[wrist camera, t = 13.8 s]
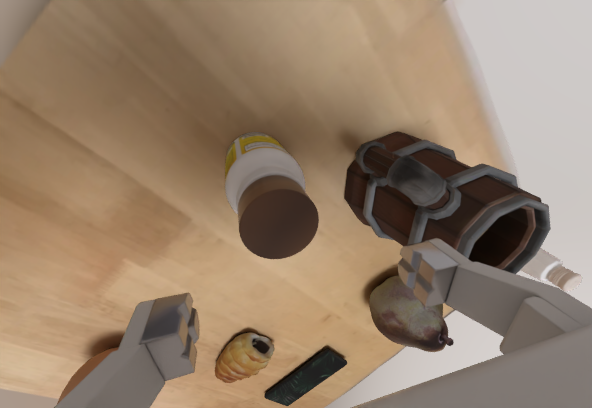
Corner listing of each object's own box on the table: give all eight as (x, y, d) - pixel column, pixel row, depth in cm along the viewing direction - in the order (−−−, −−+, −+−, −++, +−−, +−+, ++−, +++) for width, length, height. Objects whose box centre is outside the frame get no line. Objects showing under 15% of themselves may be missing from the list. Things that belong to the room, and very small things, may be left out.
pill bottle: (252, 199, 27) (265, 261, 17) (212, 157, 24) (201, 204, 14) (296, 164, 27) (334, 208, 17) (260, 117, 24) (282, 139, 14)
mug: (444, 165, 32) (595, 220, 19) (383, 234, 34) (478, 325, 21) (367, 85, 25) (521, 84, 12) (298, 179, 27) (362, 263, 14)
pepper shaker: (500, 219, 39) (588, 261, 30) (511, 233, 42) (596, 277, 32) (475, 243, 40) (551, 291, 31) (487, 255, 43) (562, 304, 33)
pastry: (237, 374, 40) (238, 400, 36) (203, 362, 37) (200, 390, 33) (276, 339, 38) (281, 363, 35) (244, 324, 35) (245, 349, 32)
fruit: (412, 255, 38) (482, 319, 27) (418, 292, 42) (480, 359, 32) (354, 283, 37) (403, 360, 27) (366, 318, 42) (412, 395, 31)
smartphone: (263, 398, 43) (328, 351, 41) (263, 392, 44) (326, 345, 42) (287, 407, 46) (348, 364, 45) (286, 401, 47) (346, 358, 45)
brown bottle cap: (223, 219, 15) (222, 241, 13) (264, 160, 14) (270, 173, 12) (281, 247, 17) (288, 269, 15) (320, 197, 16) (334, 213, 14)
